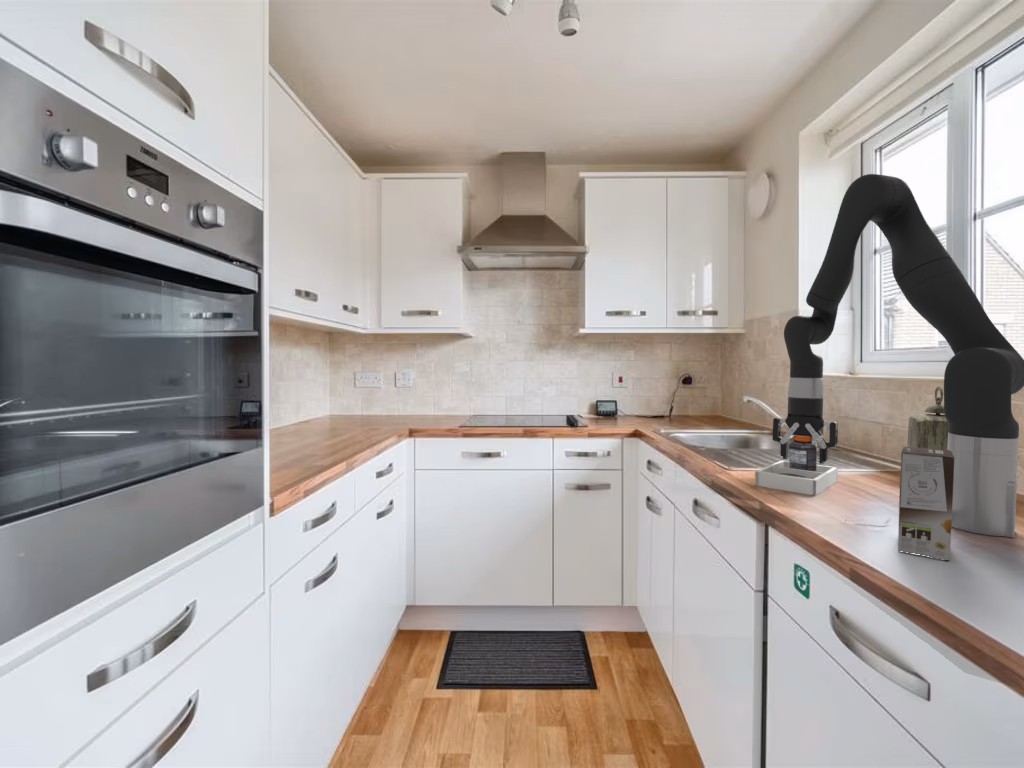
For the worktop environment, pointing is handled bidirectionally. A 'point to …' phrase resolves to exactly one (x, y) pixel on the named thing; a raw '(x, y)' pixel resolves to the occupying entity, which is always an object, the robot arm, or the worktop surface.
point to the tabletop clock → (929, 427)
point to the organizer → (796, 478)
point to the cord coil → (792, 475)
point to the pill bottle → (803, 453)
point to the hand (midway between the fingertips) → (803, 460)
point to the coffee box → (926, 502)
